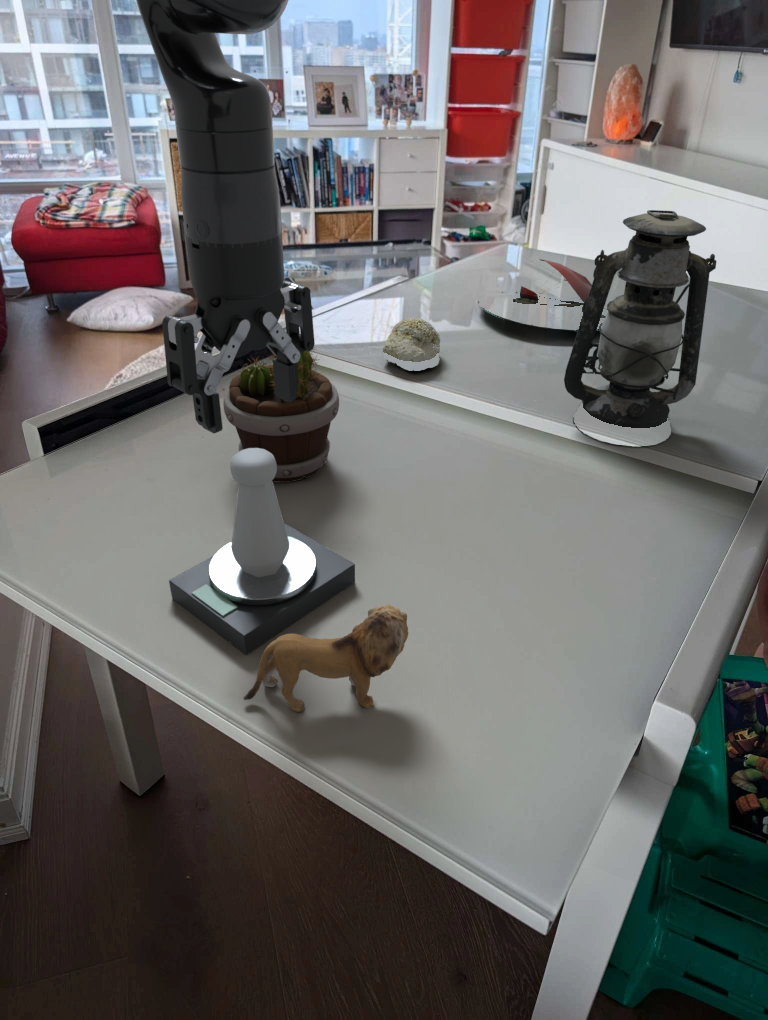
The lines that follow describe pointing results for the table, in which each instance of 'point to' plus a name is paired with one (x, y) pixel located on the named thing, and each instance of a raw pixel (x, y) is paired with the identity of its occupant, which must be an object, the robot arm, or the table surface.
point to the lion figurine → (336, 655)
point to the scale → (261, 621)
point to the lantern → (642, 323)
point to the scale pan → (264, 589)
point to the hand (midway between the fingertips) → (250, 413)
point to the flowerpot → (284, 417)
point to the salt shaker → (257, 514)
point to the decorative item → (413, 341)
